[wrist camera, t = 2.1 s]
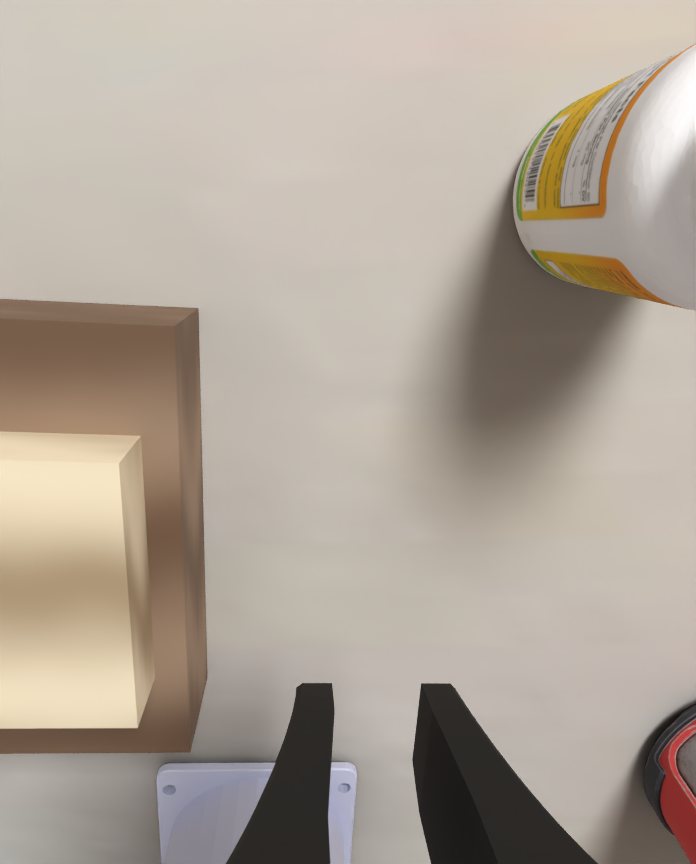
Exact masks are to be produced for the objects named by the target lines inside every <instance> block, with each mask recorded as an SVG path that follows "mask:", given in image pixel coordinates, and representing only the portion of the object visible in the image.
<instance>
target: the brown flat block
mask: <svg viewBox="0 0 696 864" xmlns="http://www.w3.org/2000/svg"><path fill="white" fill-rule="evenodd" d="M0 432H32V433H64V434H96V435H128V436H141V447H142V464H143V481H144V498H145V515H146V533H147V550H148V567H149V584H150V602H151V619H152V636H153V653H154V670H155V679H154V682H153V685H152V688H151V691H150V694H149V697H148V700H147V703H146V705H145V708H144V711H143V714H142V717H141V720H140V723H139V726H138V728H35V729H0V754H10V753H161V752H190V751H191V747H192V742H193V738H194V734H195V729H196V725H197V720H198V716H199V711H200V707H201V703H202V698H203V694H204V689H205V685H206V681H207V647H206V605H205V564H204V523H203V481H202V440H201V399H200V357H199V316H198V308H179V307H158V306H137V305H115V304H94V303H73V302H51V301H30V300H9V299H0Z"/></svg>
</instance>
